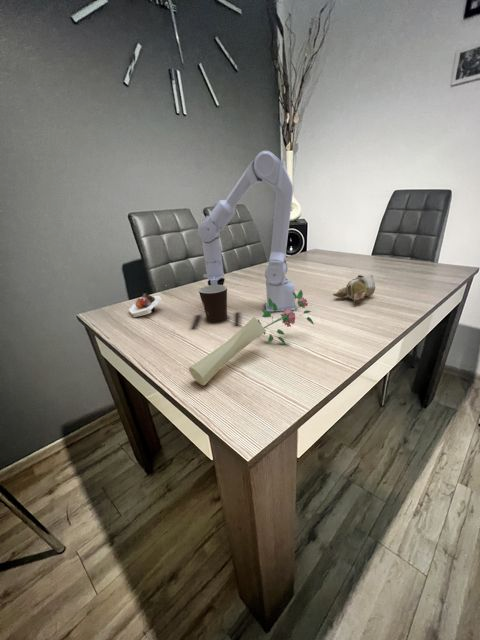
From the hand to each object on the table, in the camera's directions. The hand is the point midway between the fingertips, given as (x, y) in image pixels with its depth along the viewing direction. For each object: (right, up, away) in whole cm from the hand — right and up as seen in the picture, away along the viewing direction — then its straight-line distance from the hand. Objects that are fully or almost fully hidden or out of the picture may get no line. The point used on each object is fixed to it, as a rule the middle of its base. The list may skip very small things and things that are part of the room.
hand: (218, 300), depth 98 cm
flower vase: (+14, -19, -30) cm, 38 cm away
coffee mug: (+1, -7, -8) cm, 11 cm away
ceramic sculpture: (+50, 0, +1) cm, 50 cm away
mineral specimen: (-25, -5, 0) cm, 26 cm away
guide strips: (+1, -9, -10) cm, 13 cm away
